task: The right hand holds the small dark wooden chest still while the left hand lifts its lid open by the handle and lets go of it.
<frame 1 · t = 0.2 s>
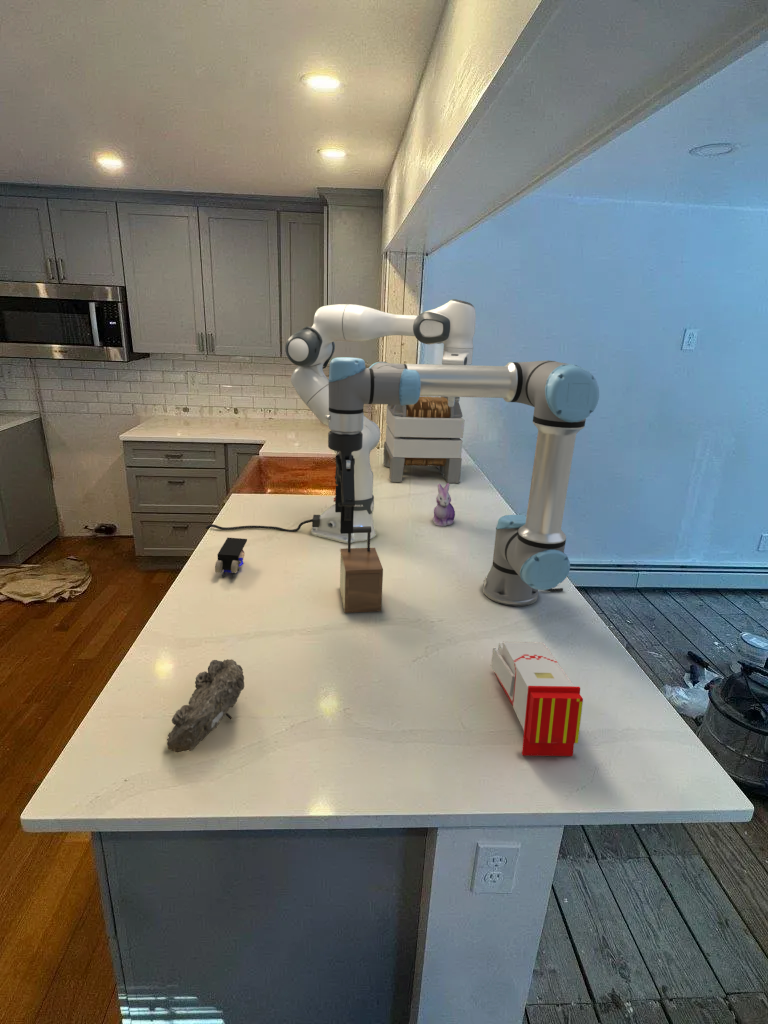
left hand: (453, 404, 174), 48 cm above the counter, tool pointing down, fingers open, 8 cm apart
right hand: (343, 522, 131), 28 cm above the counter, tool pointing down, fingers open, 13 cm apart
fossil: (212, 717, 108), on the counter
figurine: (443, 522, 212), on the counter
toy: (526, 706, 115), on the counter
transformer: (419, 473, 275), on the counter
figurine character: (232, 569, 168), on the counter
lid: (361, 547, 149), point 15 cm above the counter, hinge at 0.0°
chest: (359, 599, 154), on the counter
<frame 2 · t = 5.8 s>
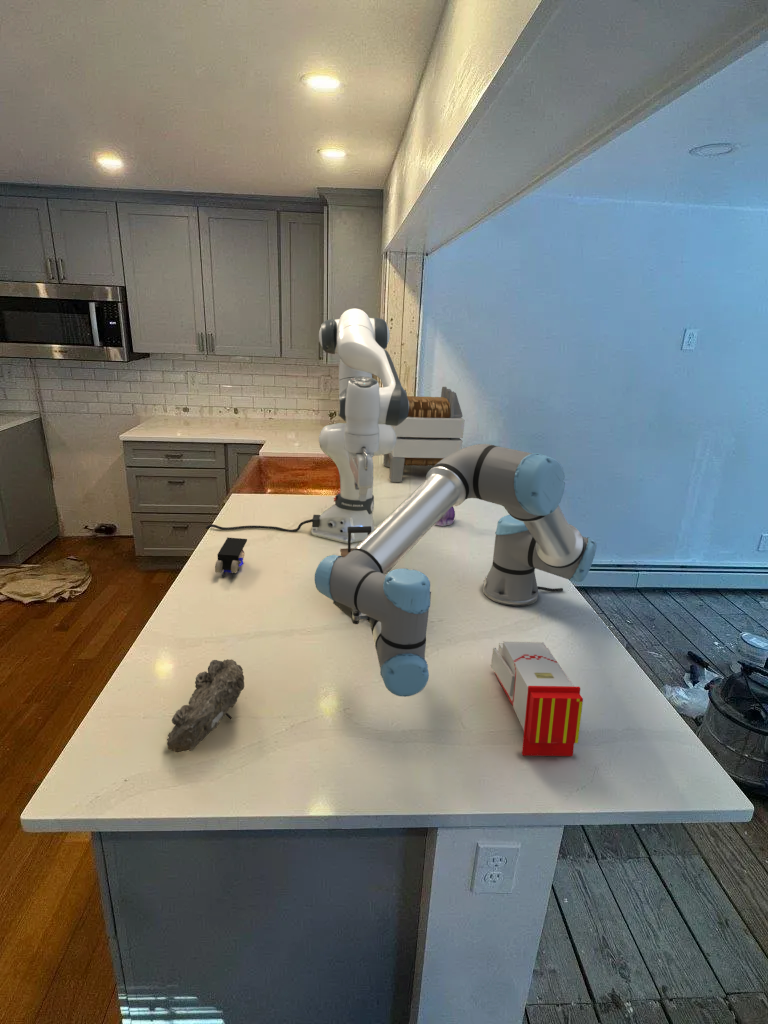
left hand: (360, 494, 149), 28 cm above the counter, tool pointing down, fingers open, 8 cm apart
right hand: (377, 580, 124), 18 cm above the counter, tool horizontal, fingers open, 13 cm apart
nothing on the counter moved.
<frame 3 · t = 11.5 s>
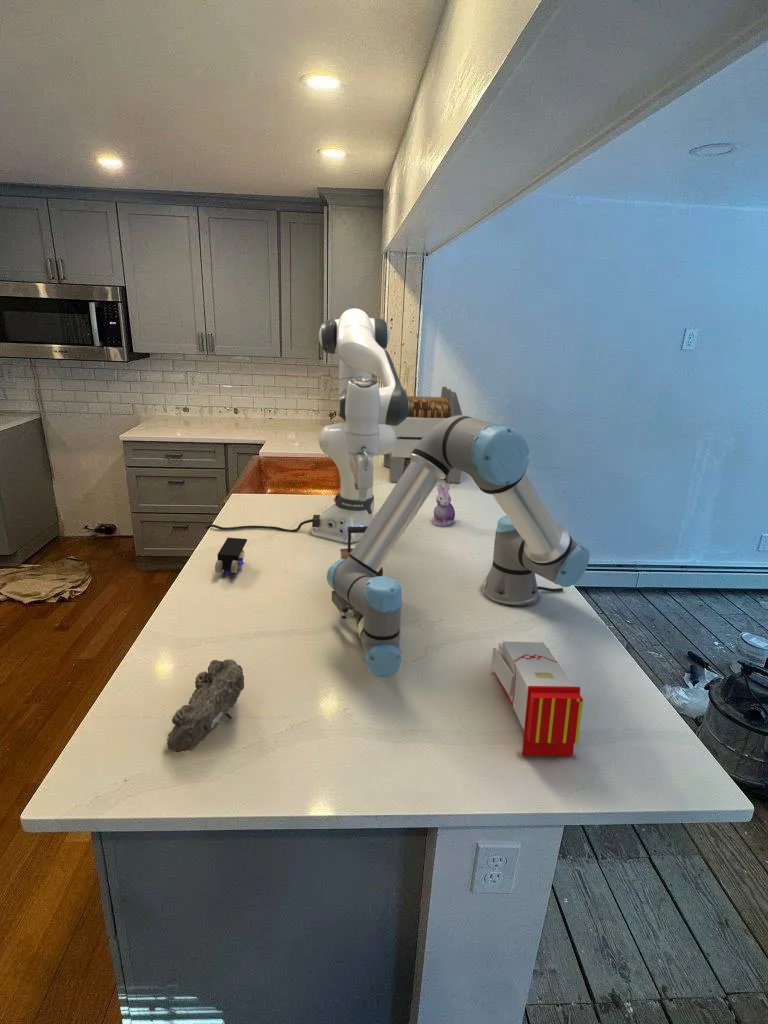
left hand: (360, 494, 149), 28 cm above the counter, tool pointing down, fingers open, 8 cm apart
right hand: (361, 580, 149), 7 cm above the counter, tool horizontal, fingers closed on chest, 10 cm apart
chest: (359, 599, 154), on the counter, touching right hand
everything else where it was.
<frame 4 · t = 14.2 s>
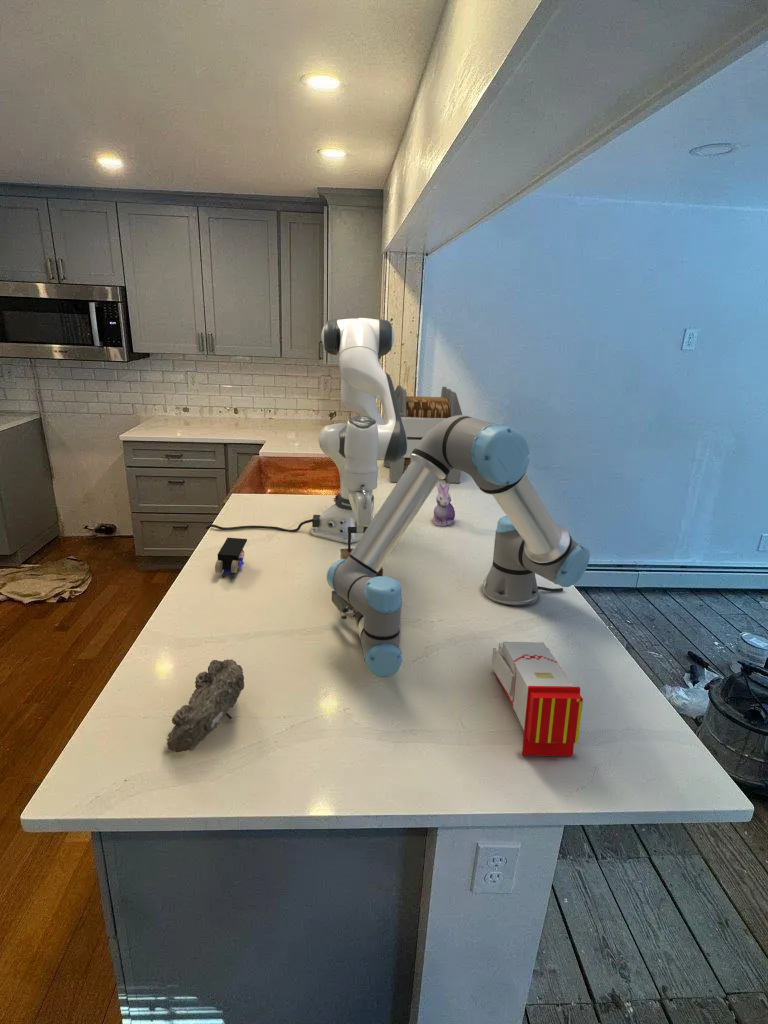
left hand: (359, 529, 152), 19 cm above the counter, tool pointing down, fingers closed on lid, 2 cm apart
right hand: (361, 580, 149), 7 cm above the counter, tool horizontal, fingers closed on chest, 10 cm apart
lid: (361, 547, 149), point 15 cm above the counter, hinge at -0.1°, touching left hand
chest: (359, 599, 154), on the counter, touching right hand
everything else where it was.
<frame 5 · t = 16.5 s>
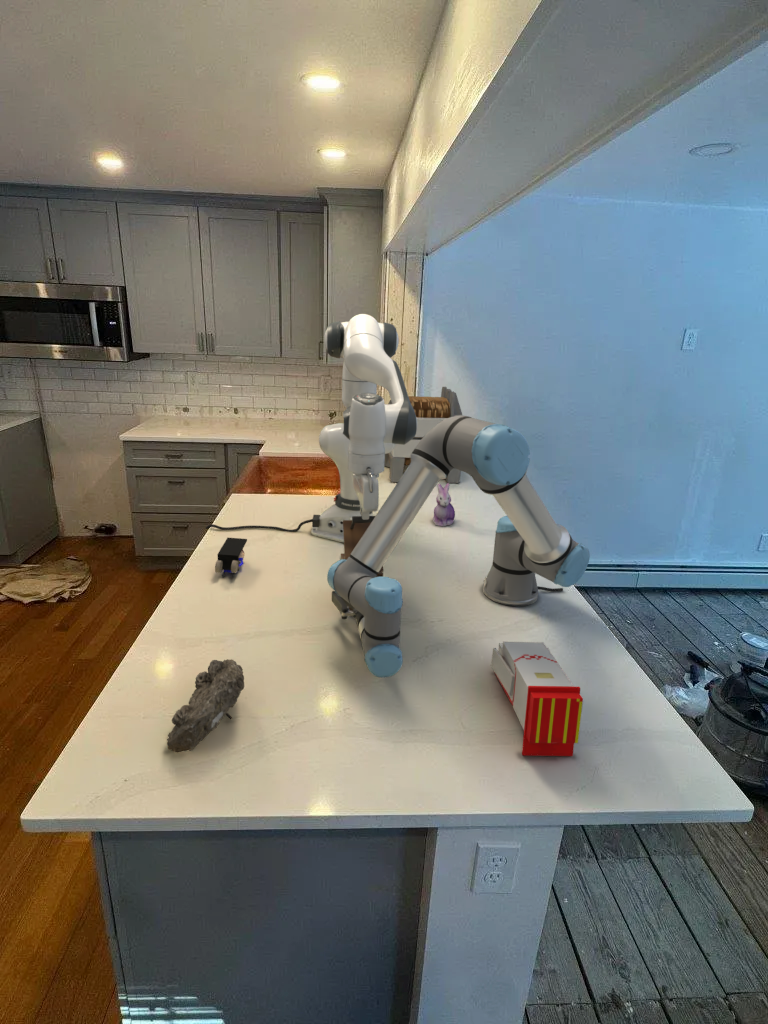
left hand: (364, 516, 141), 26 cm above the counter, tool pointing down, fingers closed, pressing on lid
right hand: (361, 580, 149), 7 cm above the counter, tool horizontal, fingers closed on chest, 10 cm apart
lid: (364, 541, 143), point 19 cm above the counter, hinge at 49.5°, touching left hand
chest: (359, 600, 154), on the counter, touching right hand
everything else where it was.
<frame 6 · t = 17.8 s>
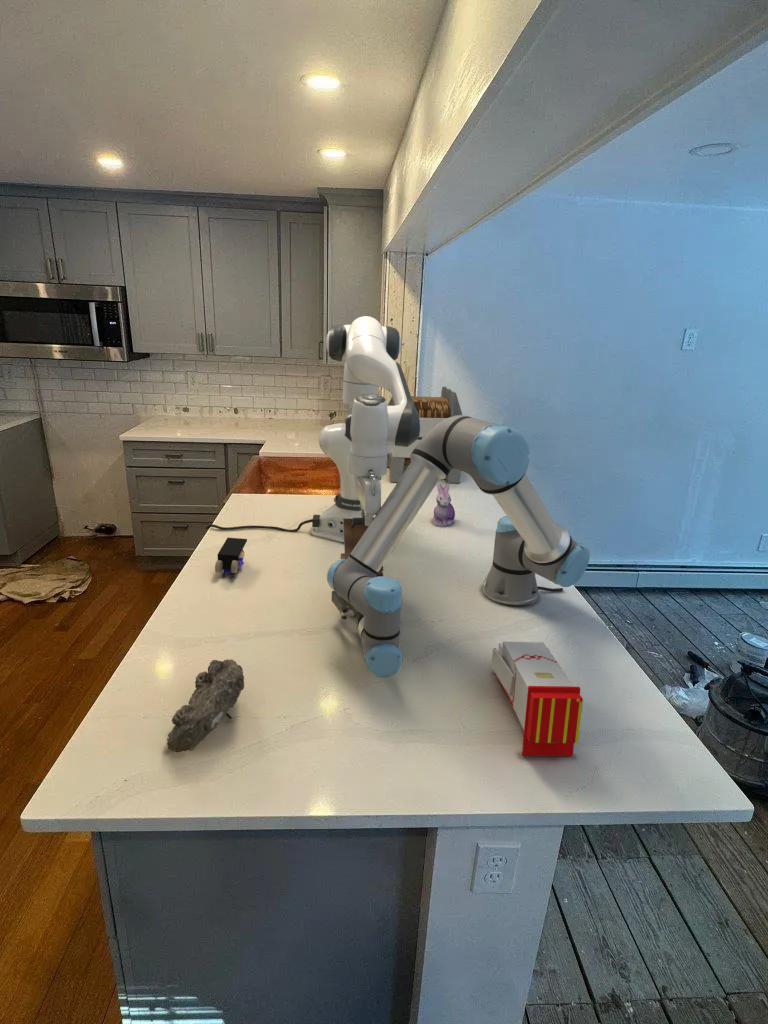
left hand: (366, 520, 138), 26 cm above the counter, tool pointing down, fingers open, 5 cm apart
right hand: (361, 580, 149), 7 cm above the counter, tool horizontal, fingers closed on chest, 10 cm apart
lid: (365, 542, 142), point 19 cm above the counter, hinge at 56.5°, touching left hand
chest: (359, 600, 154), on the counter, touching right hand
everything else where it was.
when the right hand's fingers open (7 cm above the counter, at t = 21.1 s): chest stays where it is, on the counter.
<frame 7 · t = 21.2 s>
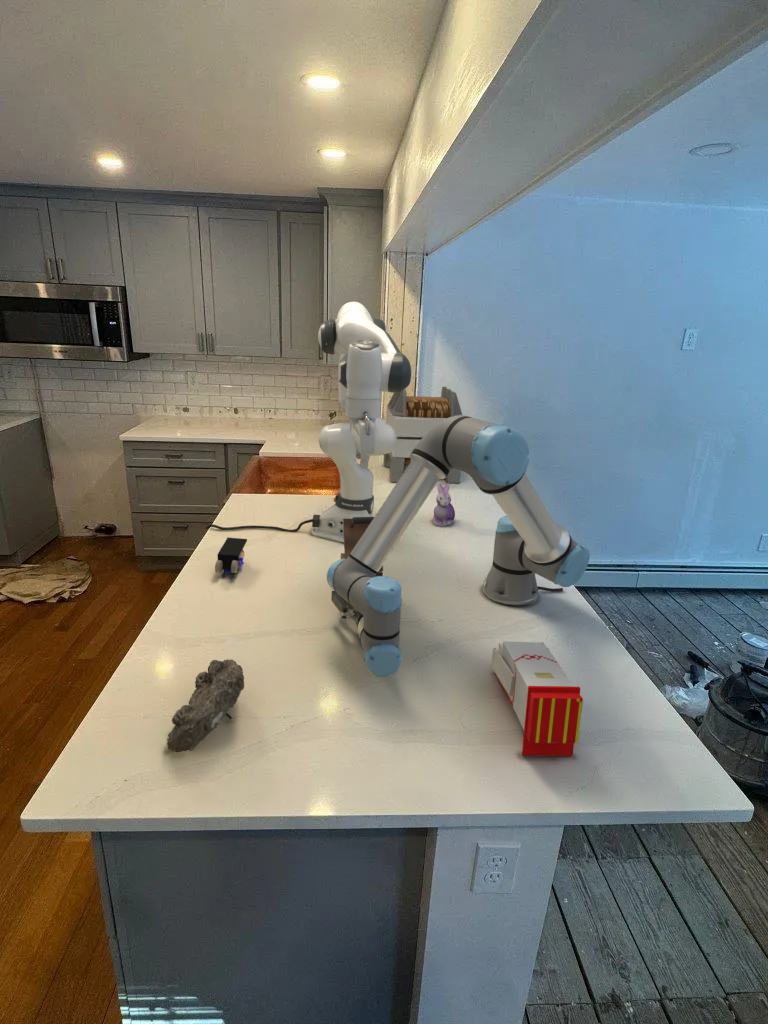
left hand: (361, 463, 145), 37 cm above the counter, tool pointing down, fingers open, 8 cm apart
right hand: (361, 580, 149), 7 cm above the counter, tool horizontal, fingers open, 10 cm apart
lid: (364, 542, 142), point 19 cm above the counter, hinge at 55.4°
chest: (359, 599, 154), on the counter
everything else where it was.
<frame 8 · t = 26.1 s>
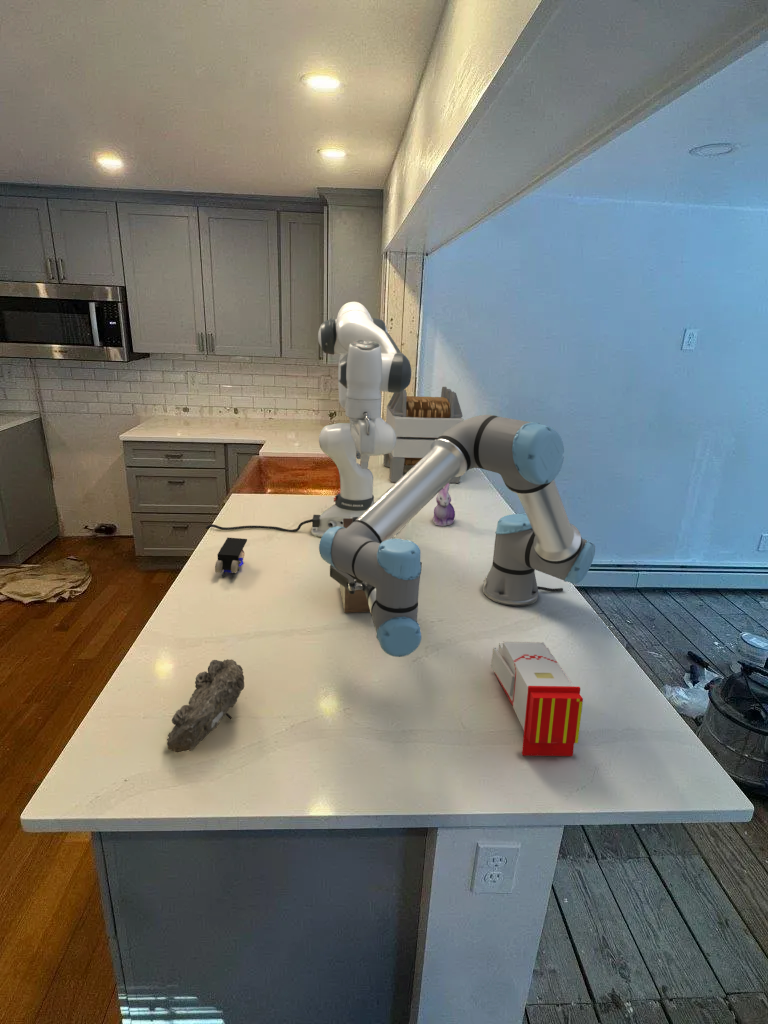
left hand: (361, 463, 145), 37 cm above the counter, tool pointing down, fingers open, 8 cm apart
right hand: (371, 554, 131), 21 cm above the counter, tool horizontal, fingers open, 13 cm apart
nothing on the counter moved.
at the end: lid at +55° (first picture: +0°); the left hand is holding nothing; the right hand is holding nothing; chest tilted 0°; chest never tilted more than 1° during the clip; chest moved 0.1 cm from its start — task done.
